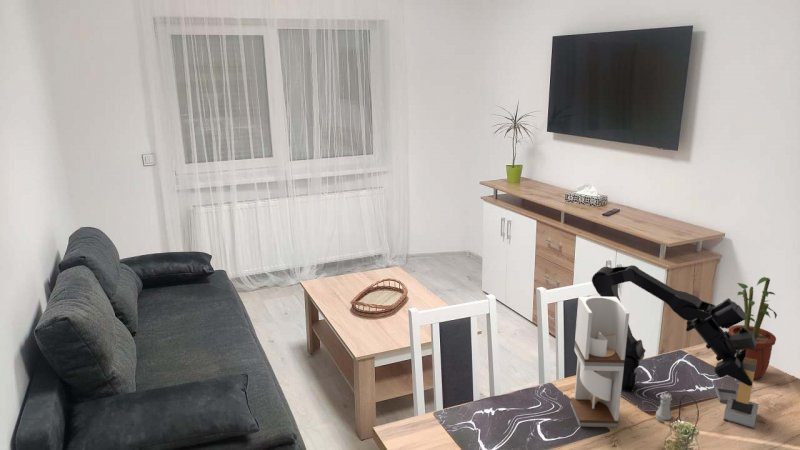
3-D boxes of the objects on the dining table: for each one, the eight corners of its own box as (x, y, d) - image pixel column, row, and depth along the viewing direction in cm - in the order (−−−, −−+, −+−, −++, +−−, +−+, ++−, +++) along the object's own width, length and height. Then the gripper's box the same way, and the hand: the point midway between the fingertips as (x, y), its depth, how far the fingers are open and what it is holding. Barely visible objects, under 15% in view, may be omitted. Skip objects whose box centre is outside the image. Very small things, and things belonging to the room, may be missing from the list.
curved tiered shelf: (570, 403, 173) (578, 296, 164) (605, 404, 172) (616, 296, 163) (579, 426, 162) (588, 312, 153) (617, 427, 161) (629, 313, 152)
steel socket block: (723, 423, 162) (725, 409, 161) (727, 409, 169) (729, 395, 168) (753, 432, 158) (755, 418, 157) (756, 417, 165) (758, 404, 164)
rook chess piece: (671, 416, 166) (674, 391, 164) (672, 425, 162) (676, 400, 160) (654, 413, 167) (657, 389, 165) (655, 422, 163) (658, 397, 161)
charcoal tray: (719, 405, 171) (720, 399, 171) (714, 392, 178) (715, 387, 177) (741, 408, 169) (742, 402, 169) (736, 395, 176) (737, 390, 175)
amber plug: (735, 400, 161) (742, 362, 158) (737, 394, 164) (744, 356, 161) (748, 404, 159) (755, 366, 156) (750, 397, 163) (756, 360, 159)
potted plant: (778, 383, 182) (797, 280, 173) (737, 389, 179) (754, 285, 170) (736, 357, 199) (752, 262, 189) (697, 362, 196) (711, 266, 186)
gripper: (734, 334, 151) (777, 384, 147) (743, 310, 165) (782, 355, 162) (698, 353, 157) (737, 401, 154) (709, 328, 172) (745, 372, 168)
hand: (752, 381), depth 159 cm, fingers closed on amber plug, 4 cm apart
